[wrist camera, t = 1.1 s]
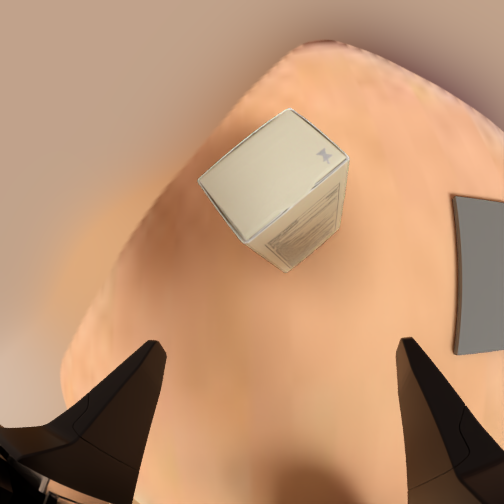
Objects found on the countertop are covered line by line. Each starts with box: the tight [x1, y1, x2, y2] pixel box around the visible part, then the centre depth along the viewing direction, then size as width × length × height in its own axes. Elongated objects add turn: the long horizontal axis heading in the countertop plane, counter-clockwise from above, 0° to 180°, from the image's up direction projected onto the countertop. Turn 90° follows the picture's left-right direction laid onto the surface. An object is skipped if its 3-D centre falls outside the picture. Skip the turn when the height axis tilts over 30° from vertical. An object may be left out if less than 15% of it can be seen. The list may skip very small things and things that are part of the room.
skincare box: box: [197, 108, 349, 273], centre depth 18 cm, size 6×4×12 cm
